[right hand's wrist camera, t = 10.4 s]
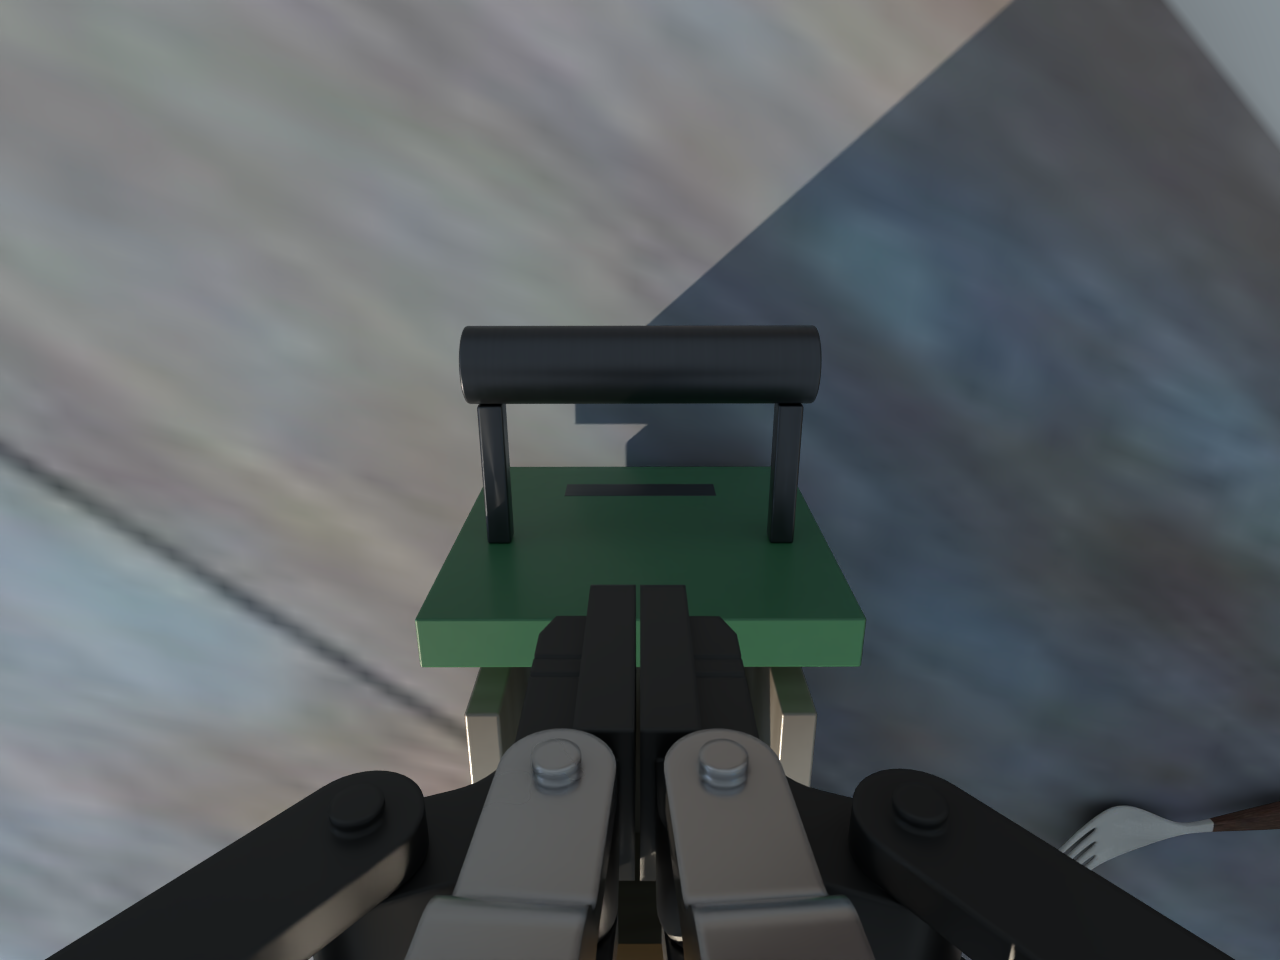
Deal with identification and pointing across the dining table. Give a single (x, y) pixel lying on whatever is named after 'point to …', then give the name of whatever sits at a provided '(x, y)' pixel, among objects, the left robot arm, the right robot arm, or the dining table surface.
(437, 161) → the dining table surface
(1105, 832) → the fork
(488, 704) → the drawer
